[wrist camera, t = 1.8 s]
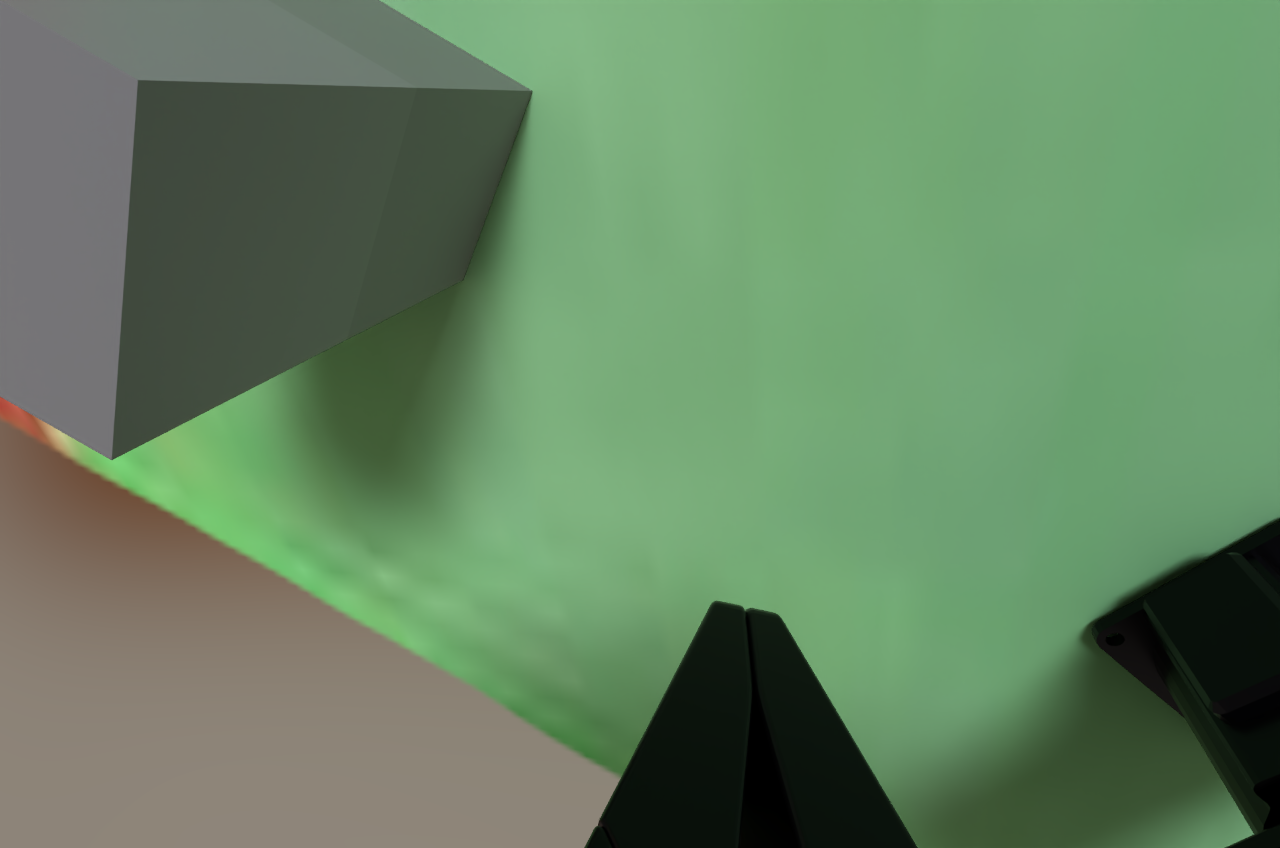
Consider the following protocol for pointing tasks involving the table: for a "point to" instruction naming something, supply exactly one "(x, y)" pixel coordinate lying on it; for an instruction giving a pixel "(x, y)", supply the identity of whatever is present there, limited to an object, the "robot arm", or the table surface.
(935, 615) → the table surface
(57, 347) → the grey block
